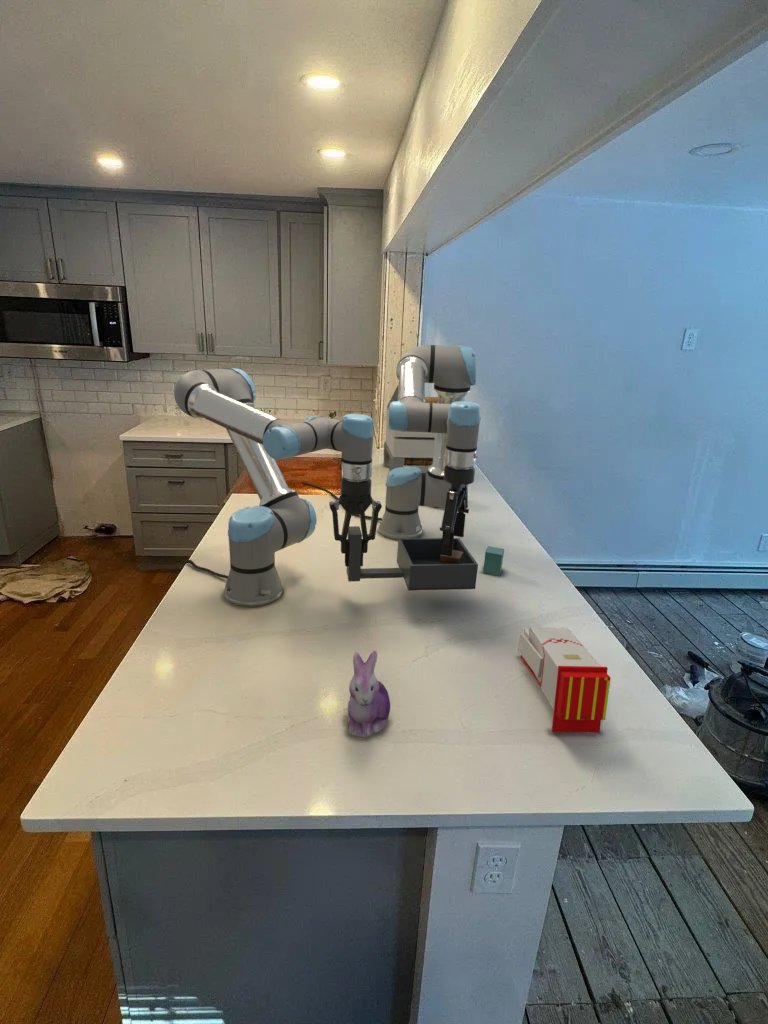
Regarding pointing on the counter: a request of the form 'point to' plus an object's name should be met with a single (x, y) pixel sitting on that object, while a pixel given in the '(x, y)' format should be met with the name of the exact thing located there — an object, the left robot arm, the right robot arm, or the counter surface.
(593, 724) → the toy
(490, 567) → the teal block
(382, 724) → the figurine
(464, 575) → the box
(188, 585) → the counter surface
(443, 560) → the walnut block
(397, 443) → the grey slatted crate
